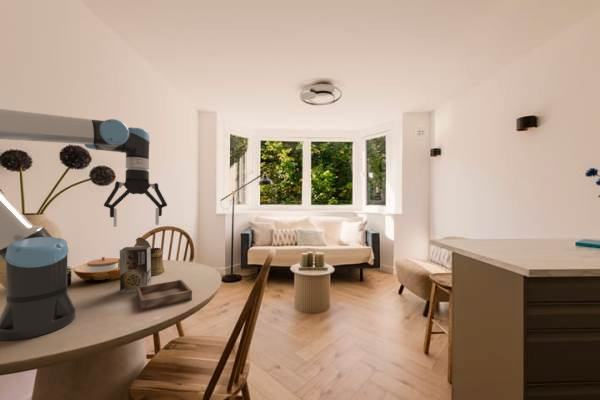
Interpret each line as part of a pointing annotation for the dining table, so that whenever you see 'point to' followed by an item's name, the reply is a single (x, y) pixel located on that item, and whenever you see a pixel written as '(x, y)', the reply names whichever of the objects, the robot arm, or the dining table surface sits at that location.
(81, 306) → the dining table surface
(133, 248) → the coffee box
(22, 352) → the dining table surface
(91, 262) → the lidded jar
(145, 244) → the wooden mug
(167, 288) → the walnut tray
